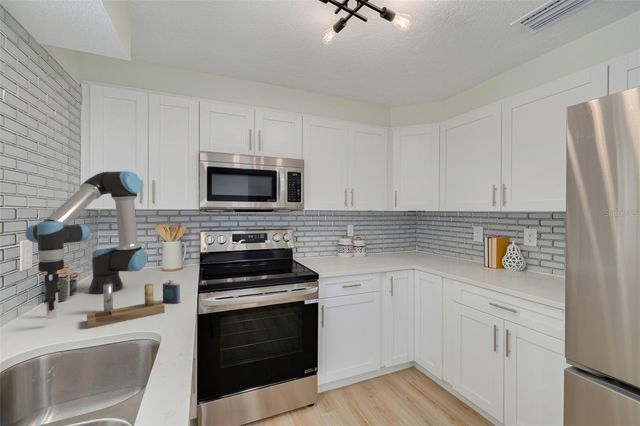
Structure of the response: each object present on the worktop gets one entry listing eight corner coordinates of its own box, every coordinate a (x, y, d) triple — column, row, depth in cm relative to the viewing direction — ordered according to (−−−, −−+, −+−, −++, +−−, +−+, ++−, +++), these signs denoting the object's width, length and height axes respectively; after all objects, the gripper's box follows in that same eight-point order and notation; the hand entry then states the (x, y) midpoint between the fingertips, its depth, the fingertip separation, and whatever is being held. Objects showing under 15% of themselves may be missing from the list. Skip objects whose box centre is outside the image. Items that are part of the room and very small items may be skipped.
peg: (103, 311, 128) (103, 284, 128) (112, 310, 131) (112, 283, 130) (104, 313, 126) (103, 285, 126) (113, 312, 128) (112, 284, 128)
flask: (181, 302, 141) (180, 279, 140) (176, 304, 138) (176, 281, 138) (165, 300, 143) (165, 278, 143) (160, 302, 140) (160, 280, 140)
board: (87, 321, 117) (86, 291, 117) (160, 307, 134) (159, 280, 134) (87, 328, 110) (86, 296, 110) (164, 312, 127) (164, 284, 127)
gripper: (41, 257, 124) (42, 307, 125) (34, 266, 105) (36, 325, 106) (64, 255, 129) (66, 303, 130) (62, 263, 110) (64, 320, 110)
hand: (52, 313), depth 118 cm, fingers open, 13 cm apart
